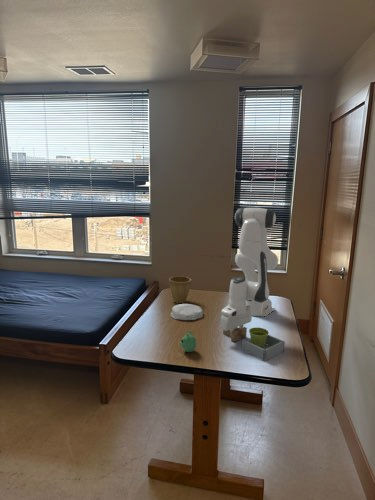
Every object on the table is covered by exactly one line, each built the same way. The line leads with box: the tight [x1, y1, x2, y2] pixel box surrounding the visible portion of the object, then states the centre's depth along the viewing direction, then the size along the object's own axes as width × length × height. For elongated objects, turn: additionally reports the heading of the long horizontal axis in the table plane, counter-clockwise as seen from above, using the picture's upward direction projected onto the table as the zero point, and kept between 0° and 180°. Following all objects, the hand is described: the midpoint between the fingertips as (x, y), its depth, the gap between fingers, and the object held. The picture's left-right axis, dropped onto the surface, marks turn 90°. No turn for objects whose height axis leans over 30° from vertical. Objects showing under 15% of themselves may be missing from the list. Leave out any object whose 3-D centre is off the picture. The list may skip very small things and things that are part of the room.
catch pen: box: [241, 334, 286, 362], centre depth 164 cm, size 15×14×5 cm
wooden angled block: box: [222, 326, 248, 343], centre depth 179 cm, size 10×10×5 cm
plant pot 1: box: [168, 275, 192, 304], centre depth 229 cm, size 15×15×16 cm
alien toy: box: [179, 330, 197, 353], centre depth 162 cm, size 7×8×10 cm
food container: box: [170, 303, 204, 321], centre depth 208 cm, size 20×20×7 cm
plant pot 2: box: [248, 327, 270, 349], centre depth 166 cm, size 9×9×9 cm
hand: (236, 333), depth 177 cm, fingers closed on wooden angled block, 3 cm apart
